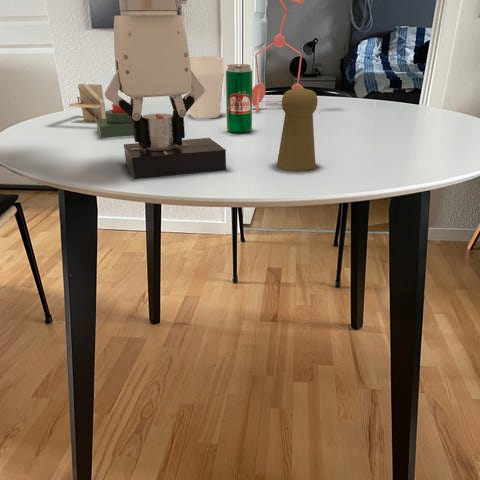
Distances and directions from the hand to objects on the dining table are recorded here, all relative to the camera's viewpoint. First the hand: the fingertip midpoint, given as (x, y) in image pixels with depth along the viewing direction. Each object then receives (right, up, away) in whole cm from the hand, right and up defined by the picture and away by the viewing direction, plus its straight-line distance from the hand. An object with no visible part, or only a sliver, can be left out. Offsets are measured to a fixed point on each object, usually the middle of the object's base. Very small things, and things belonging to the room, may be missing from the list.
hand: (160, 144), depth 75 cm
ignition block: (-11, +11, +25) cm, 29 cm away
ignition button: (-11, +14, +23) cm, 29 cm away
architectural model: (-20, +17, +35) cm, 44 cm away
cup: (+4, +20, +40) cm, 45 cm away
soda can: (+12, +11, +25) cm, 30 cm away
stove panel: (+2, -3, +2) cm, 4 cm away
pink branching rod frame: (+22, +26, +50) cm, 60 cm away
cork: (+21, -3, +3) cm, 21 cm away
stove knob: (0, 0, 0) cm, 1 cm away
